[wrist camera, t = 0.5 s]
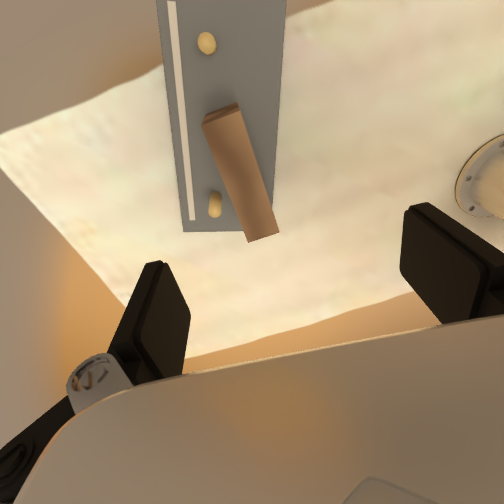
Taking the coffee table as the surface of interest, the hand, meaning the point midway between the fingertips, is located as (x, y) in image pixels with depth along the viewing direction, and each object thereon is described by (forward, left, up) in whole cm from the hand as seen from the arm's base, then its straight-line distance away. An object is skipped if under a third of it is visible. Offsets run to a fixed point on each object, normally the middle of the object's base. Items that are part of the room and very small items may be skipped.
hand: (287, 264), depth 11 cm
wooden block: (+1, +4, -29) cm, 29 cm away
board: (+3, 0, -30) cm, 30 cm away
